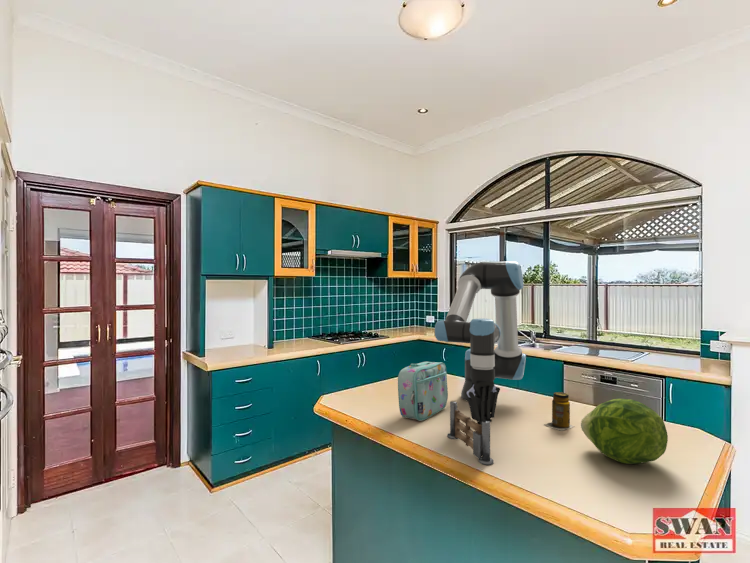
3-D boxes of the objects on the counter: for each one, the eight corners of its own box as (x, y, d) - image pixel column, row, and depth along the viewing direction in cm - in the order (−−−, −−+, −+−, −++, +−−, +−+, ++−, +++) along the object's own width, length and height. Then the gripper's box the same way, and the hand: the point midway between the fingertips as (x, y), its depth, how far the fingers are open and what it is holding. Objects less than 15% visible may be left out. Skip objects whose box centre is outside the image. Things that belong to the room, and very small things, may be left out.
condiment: (574, 426, 147) (574, 394, 147) (561, 431, 143) (561, 398, 143) (556, 421, 153) (556, 390, 153) (543, 425, 149) (543, 393, 149)
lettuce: (599, 441, 135) (587, 389, 136) (681, 455, 117) (668, 395, 117) (572, 465, 124) (560, 407, 124) (659, 485, 105) (644, 417, 105)
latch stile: (485, 455, 122) (485, 416, 122) (496, 464, 117) (496, 423, 117) (472, 457, 121) (472, 418, 121) (483, 466, 115) (483, 425, 115)
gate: (455, 436, 135) (455, 410, 135) (458, 436, 135) (458, 409, 135) (479, 455, 120) (479, 426, 120) (482, 455, 120) (482, 425, 120)
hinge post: (456, 433, 140) (456, 400, 140) (462, 438, 136) (462, 403, 136) (445, 435, 139) (445, 401, 139) (450, 440, 135) (450, 404, 135)
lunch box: (417, 426, 147) (417, 369, 148) (395, 420, 154) (395, 365, 154) (450, 408, 169) (450, 358, 169) (429, 403, 175) (429, 355, 175)
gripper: (489, 363, 133) (490, 433, 132) (458, 367, 127) (459, 441, 126) (506, 367, 126) (507, 441, 126) (475, 371, 120) (475, 449, 120)
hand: (483, 441), depth 126 cm, fingers closed
